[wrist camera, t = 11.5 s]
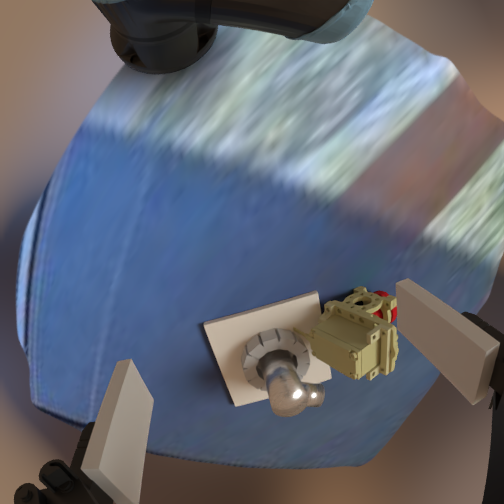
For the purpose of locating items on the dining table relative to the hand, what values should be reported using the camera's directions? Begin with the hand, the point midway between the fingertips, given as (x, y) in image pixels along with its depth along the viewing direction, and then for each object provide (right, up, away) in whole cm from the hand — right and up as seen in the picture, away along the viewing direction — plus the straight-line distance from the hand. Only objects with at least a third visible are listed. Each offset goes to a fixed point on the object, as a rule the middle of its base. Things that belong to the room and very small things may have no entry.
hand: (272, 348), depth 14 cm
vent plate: (+2, -12, +37) cm, 39 cm away
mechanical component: (+16, -5, +38) cm, 41 cm away
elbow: (+4, -13, +36) cm, 39 cm away
